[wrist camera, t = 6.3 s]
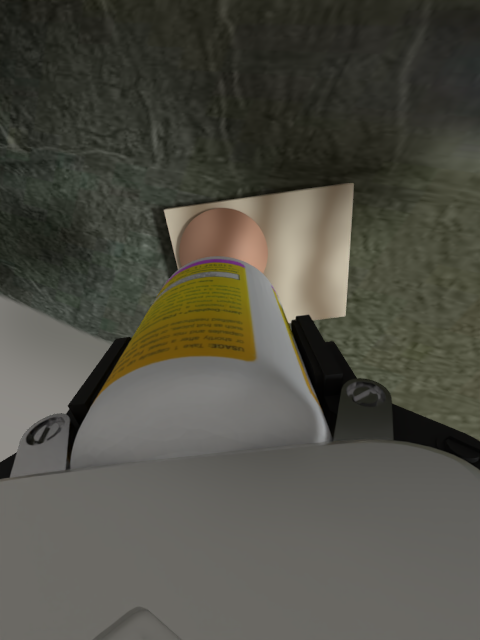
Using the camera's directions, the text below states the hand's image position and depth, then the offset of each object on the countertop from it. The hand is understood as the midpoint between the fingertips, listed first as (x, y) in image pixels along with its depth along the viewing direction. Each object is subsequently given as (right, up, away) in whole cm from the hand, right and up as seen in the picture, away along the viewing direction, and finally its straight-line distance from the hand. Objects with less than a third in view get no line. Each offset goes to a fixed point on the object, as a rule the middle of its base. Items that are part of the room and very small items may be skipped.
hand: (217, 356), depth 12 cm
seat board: (+3, +8, +18) cm, 20 cm away
